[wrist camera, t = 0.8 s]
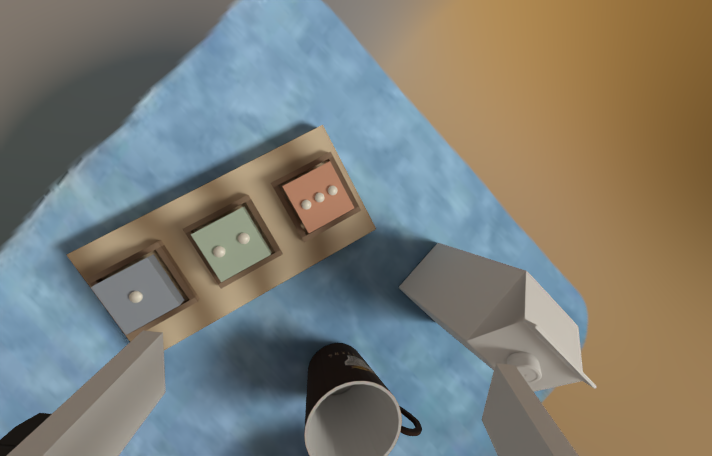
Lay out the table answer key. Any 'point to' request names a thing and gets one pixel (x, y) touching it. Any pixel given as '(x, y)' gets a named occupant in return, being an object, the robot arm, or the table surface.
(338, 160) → the keypad board
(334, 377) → the coffee mug
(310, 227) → the key three dots
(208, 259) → the key two dots
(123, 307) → the key one dot
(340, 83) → the table surface
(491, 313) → the milk carton
